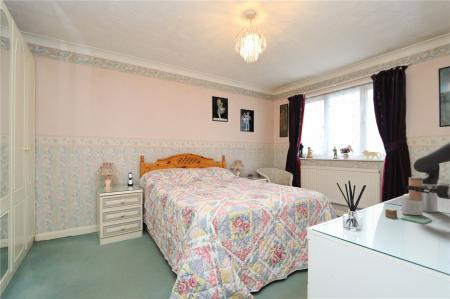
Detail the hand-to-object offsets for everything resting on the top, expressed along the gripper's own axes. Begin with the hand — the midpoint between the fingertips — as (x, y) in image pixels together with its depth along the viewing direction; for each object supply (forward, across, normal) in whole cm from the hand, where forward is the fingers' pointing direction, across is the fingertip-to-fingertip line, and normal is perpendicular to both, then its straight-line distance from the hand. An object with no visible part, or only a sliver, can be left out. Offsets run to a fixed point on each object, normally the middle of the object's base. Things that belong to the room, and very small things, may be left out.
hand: (410, 187), depth 122 cm
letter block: (+7, +4, +18) cm, 20 cm away
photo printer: (+3, -12, +18) cm, 22 cm away
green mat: (-3, 0, +18) cm, 18 cm away
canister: (-3, 0, +7) cm, 7 cm away
